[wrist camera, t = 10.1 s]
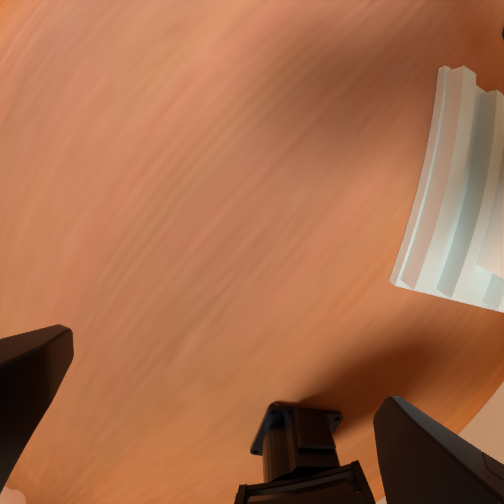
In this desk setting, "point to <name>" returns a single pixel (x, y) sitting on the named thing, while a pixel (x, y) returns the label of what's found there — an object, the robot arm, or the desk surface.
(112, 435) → the desk surface
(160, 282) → the desk surface
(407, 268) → the rack
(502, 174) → the white rectangular block
